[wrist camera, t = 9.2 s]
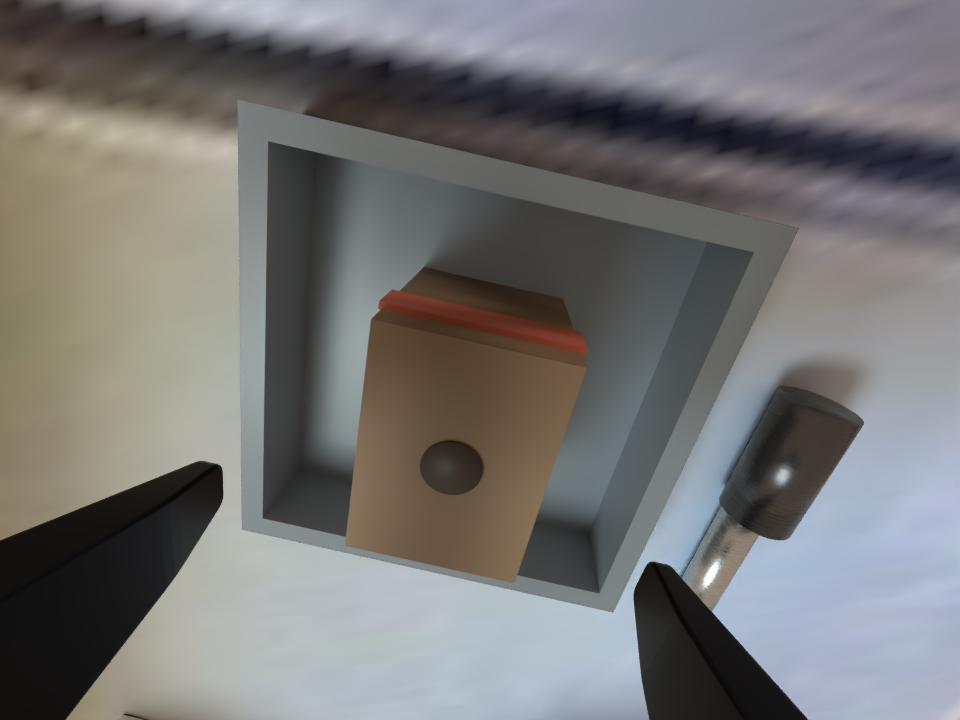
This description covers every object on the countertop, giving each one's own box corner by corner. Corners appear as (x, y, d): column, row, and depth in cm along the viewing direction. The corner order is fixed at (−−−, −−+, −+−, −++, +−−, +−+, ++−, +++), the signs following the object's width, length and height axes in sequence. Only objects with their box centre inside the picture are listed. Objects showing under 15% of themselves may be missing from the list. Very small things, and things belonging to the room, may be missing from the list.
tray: (737, 215, 15) (799, 227, 11) (598, 542, 20) (613, 612, 17) (300, 115, 14) (237, 99, 11) (285, 472, 20) (241, 529, 17)
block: (567, 295, 16) (593, 364, 10) (518, 460, 18) (517, 587, 13) (421, 262, 15) (366, 313, 10) (394, 432, 18) (340, 547, 13)
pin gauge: (763, 381, 17) (804, 415, 14) (831, 396, 17) (883, 433, 14) (642, 613, 22) (657, 667, 19) (694, 624, 22) (715, 680, 19)
